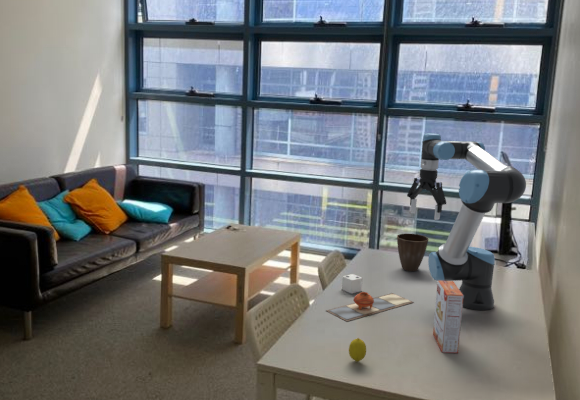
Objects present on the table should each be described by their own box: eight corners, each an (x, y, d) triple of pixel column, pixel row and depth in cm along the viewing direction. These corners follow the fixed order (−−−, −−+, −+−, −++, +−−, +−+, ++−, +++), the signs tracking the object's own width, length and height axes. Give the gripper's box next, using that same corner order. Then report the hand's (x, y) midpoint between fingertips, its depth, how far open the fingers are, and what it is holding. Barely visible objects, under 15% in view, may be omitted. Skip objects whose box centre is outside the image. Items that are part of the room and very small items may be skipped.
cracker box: (431, 335, 205) (437, 279, 201) (448, 335, 205) (454, 280, 201) (440, 353, 192) (446, 293, 187) (458, 354, 191) (464, 294, 187)
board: (413, 302, 236) (413, 301, 235) (346, 321, 214) (347, 320, 214) (392, 293, 245) (392, 292, 245) (326, 310, 223) (326, 309, 223)
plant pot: (393, 263, 287) (396, 232, 284) (424, 265, 285) (427, 234, 282) (395, 272, 273) (397, 240, 269) (426, 275, 271) (430, 242, 268)
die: (361, 291, 246) (362, 277, 245) (351, 293, 243) (352, 280, 242) (351, 286, 251) (352, 273, 250) (341, 289, 247) (342, 276, 246)
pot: (372, 303, 231) (374, 289, 228) (372, 315, 224) (374, 300, 221) (352, 301, 231) (354, 287, 228) (352, 312, 224) (354, 298, 221)
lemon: (346, 357, 186) (348, 334, 184) (363, 357, 186) (365, 334, 184) (349, 365, 180) (351, 342, 179) (367, 365, 181) (368, 342, 179)
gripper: (401, 165, 258) (397, 211, 262) (446, 173, 238) (441, 223, 243) (412, 164, 262) (409, 209, 266) (457, 172, 243) (452, 221, 247)
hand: (424, 216), depth 255 cm, fingers open, 13 cm apart
